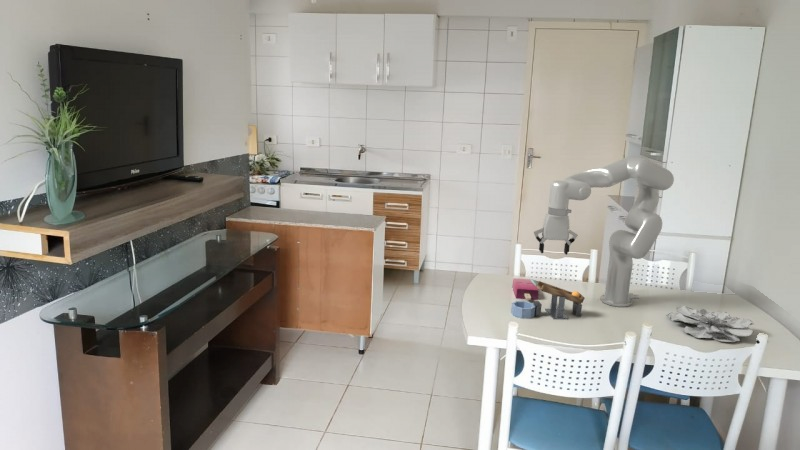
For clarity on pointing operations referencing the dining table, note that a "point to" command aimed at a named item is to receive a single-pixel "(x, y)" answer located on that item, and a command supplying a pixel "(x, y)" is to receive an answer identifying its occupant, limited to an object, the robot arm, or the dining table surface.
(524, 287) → the popsicle
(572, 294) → the ball
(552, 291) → the lever
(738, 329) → the decorative wall flower
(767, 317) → the dining table surface
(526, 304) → the cup
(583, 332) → the dining table surface
